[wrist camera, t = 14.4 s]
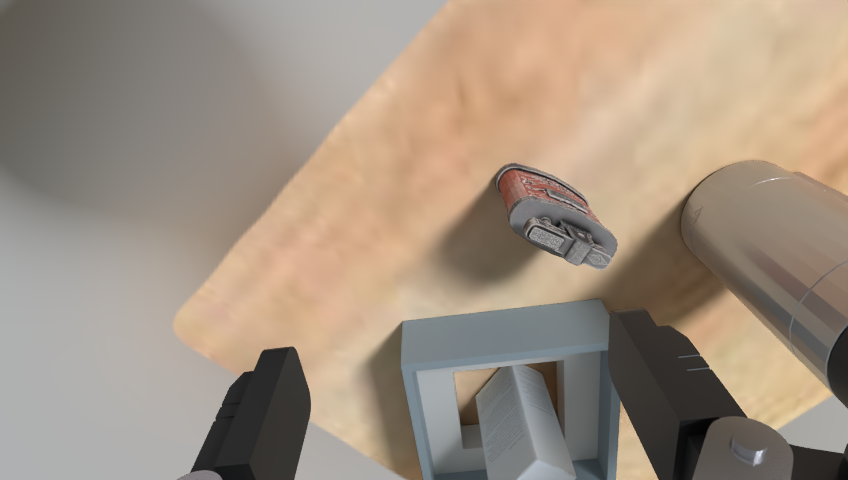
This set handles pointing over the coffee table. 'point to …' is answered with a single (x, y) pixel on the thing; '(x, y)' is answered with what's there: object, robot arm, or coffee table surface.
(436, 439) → the bore box
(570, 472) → the skincare box
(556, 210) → the lighter
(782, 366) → the coffee table surface
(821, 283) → the robot arm
